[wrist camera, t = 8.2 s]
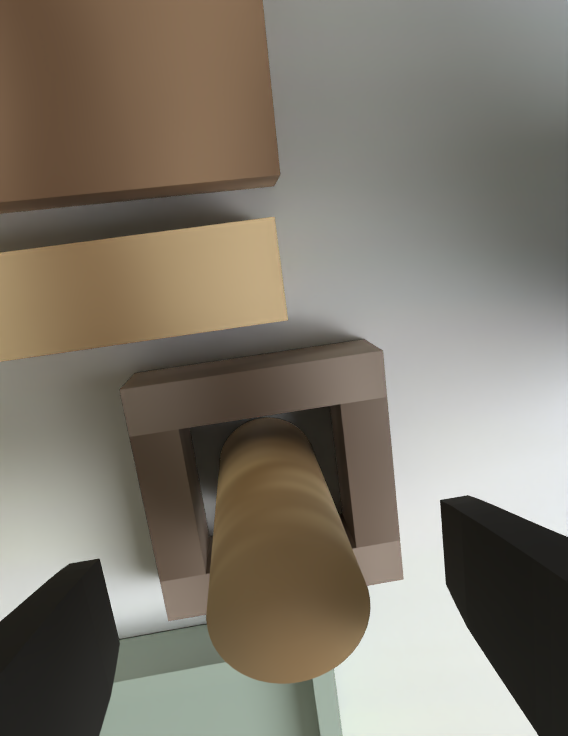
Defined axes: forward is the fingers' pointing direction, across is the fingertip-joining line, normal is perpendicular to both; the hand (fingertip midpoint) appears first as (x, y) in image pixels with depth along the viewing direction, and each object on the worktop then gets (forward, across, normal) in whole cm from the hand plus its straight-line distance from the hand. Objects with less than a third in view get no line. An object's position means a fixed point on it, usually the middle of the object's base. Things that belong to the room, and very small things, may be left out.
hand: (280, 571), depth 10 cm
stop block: (+6, +3, -6) cm, 9 cm away
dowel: (+6, 0, 0) cm, 6 cm away
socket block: (+6, 0, 0) cm, 6 cm away
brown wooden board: (+6, +3, -11) cm, 13 cm away
